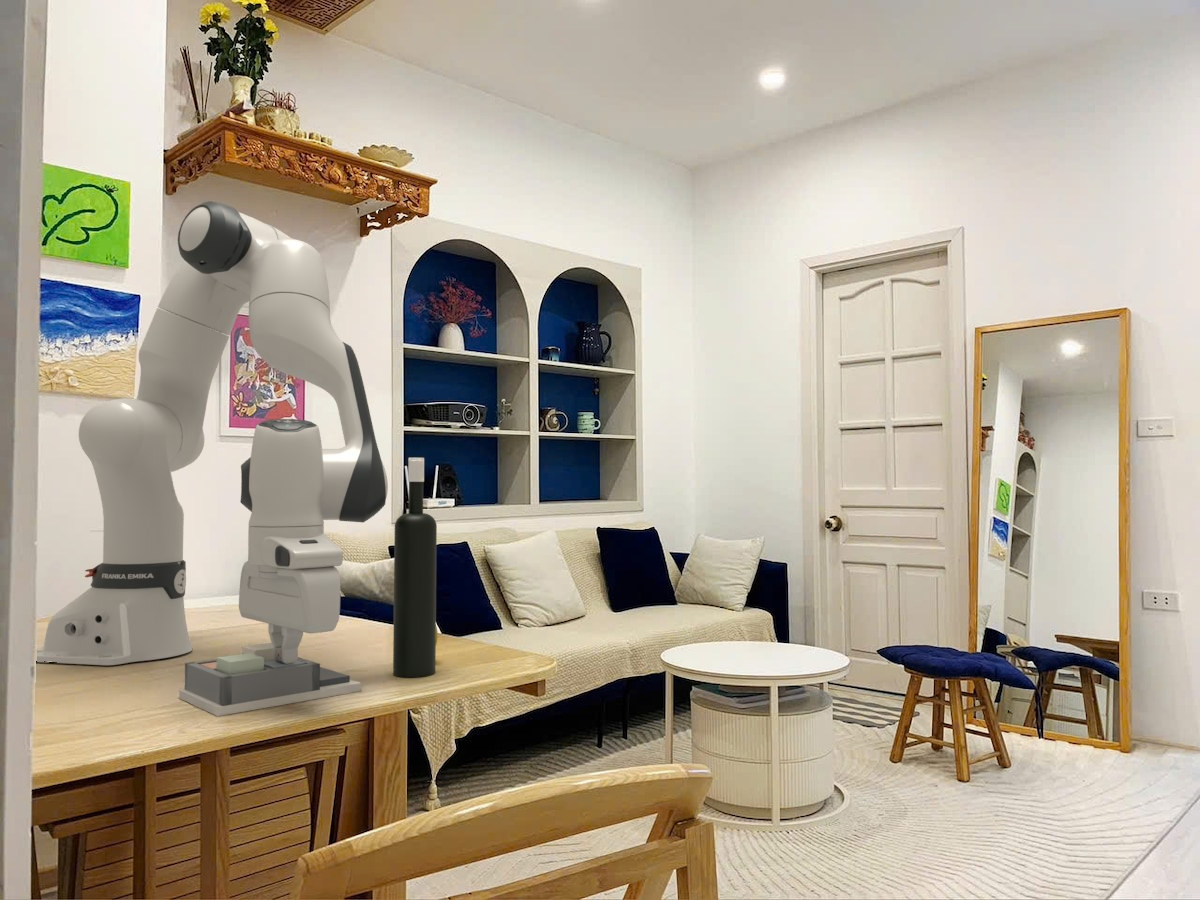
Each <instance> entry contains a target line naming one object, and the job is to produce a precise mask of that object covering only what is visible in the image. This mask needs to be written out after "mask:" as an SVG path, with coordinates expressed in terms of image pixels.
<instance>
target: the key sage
mask: <svg viewBox="0 0 1200 900" xmlns="http://www.w3.org/2000/svg"><path fill="white" fill-rule="evenodd" d="M216 659H217V666H216V671H219V672H221V673H224V674H227V675H233V674H240V673H247V672H254V671H261V670H264V657H261V656H257V655H254V654H251V653H246V654H242V653H241V654H239V653H238V654H233V655H225V656H218V657H216Z"/></svg>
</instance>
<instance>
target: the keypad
mask: <svg viewBox="0 0 1200 900" xmlns="http://www.w3.org/2000/svg"><path fill="white" fill-rule="evenodd" d="M297 660H298V661H301V662H304V663H305V664H302V665H295V666H288V667H281V668H275V669H271V668H268V667H265V666H264V670H261V671H254V672H247V673H240V674H233V675H227V674H224V673H221V672H219V671H216V668H212V669H211V668H208V667H206V666H203V665H200V664H205V663H212V662H217V658H213V659H206V660H198V661H197V660H196V661H190V662H185V663H184V688H183V689H179V690H178V692H179V693H178V699H180V700H182V701H184V702H187V703H188V704H191V705H192V706H195V707H197V708H199V709H201V710H203V711H205V712H208V713H210V714H212V715H214V716H216V717H220V716H225V715H226V716H228V715H231V714H232V715H234V714H238V713H244V712H249V711H254V710H260V709H266V708H267V709H268V708H272V707H279V706H283V705H287V704H288V705H289V704H294V703H295V704H296V703H300V702H306V701H313V700H317V699H323V698H328V697H335V696H341V695H346V694H352V693H353V694H354V693H359V692H362V682H359V681H356V680H353V679H350V675H349V674H345V673H342V672H338V671H336V670H333V669H329V668H325V667H322V666H321V663H319V662H316V661H313V660H309V659H307V658H306V659H305V658H302V657H299V656H298V659H297ZM269 661H274V660H269ZM264 662H266V661H264Z"/></svg>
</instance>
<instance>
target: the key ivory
mask: <svg viewBox="0 0 1200 900" xmlns="http://www.w3.org/2000/svg"><path fill="white" fill-rule="evenodd" d="M246 653H251V654H254V655H257V656H261V657H264V661H269V660H274V659H273V645H272V642H268V643H258V644H250V645H241V654H246Z"/></svg>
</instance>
